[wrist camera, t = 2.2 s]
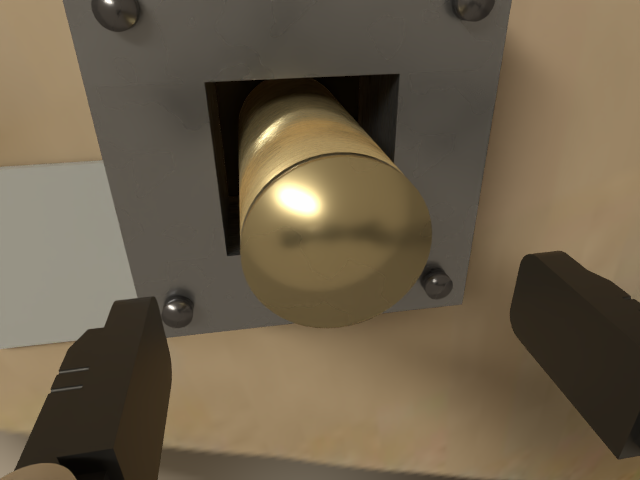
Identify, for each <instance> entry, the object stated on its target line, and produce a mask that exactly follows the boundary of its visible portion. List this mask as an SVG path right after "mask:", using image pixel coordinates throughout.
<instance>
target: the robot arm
mask: <svg viewBox="0 0 640 480" xmlns="http://www.w3.org/2000/svg"><path fill="white" fill-rule="evenodd" d="M510 321H511V325H512V328H513V331H514V333H515V335H516V336H517V338H518V339H519V340H520V341H521V343H522V344H523V345H524V346H525V347H526V349H527V350H528V351H529V352H530V353H531V355H532V356H533V357H534V358H535V360H536V361H537V362H538V363H539V364H540V366H541V367H542V368H543V369H544V370H545V372H546V373H547V374H548V375H549V376H550V378H551V379H552V380H553V381H554V383H555V384H556V385H557V386H558V387H559V389H560V390H561V391H562V392H563V393H564V395H565V396H566V397H567V398H568V400H569V401H570V402H571V403H572V404H573V406H574V407H575V408H576V409H577V410H578V412H579V413H580V414H581V415H582V416H583V418H584V419H585V420H586V421H587V423H588V424H589V425H590V426H591V427H592V429H593V430H594V431H595V432H596V433H597V435H598V436H599V437H600V438H601V439H602V441H603V442H604V443H605V444H606V446H607V447H608V448H609V449H610V450H611V452H612V453H613V454H614V455H615V456H616V458H617V459H618V460H619V459H624V458H629V457H635V456H640V303H639V302H638V301H636V300H635V299H631V296H630V295H629V294H627V293H626V292H625V291H623V290H622V289H621V288H619V287H618V286H617V285H615V284H614V283H613V282H612V281H610V280H607V279H605V278H603V277H601V276H599V275H597V274H595V273H592V272H590V271H588V270H587V269H585V268H584V267H583V266H582V265H580V264H579V263H578V262H577V261H575V260H574V259H573V258H571V257H570V256H569V255H568V254H566V253H565V252H562V251H553V252H544V253H535V254H528V255H526V256H524V257H523V259H522V261H521V263H520V267H519V272H518V276H517V281H516V285H515V290H514V295H513V299H512V304H511V308H510ZM171 381H172V368H171V358H170V352H169V348H168V344H167V340H166V335H165V331H164V327H163V323H162V318H161V314H160V310H159V306H158V302H157V300H156V298H155V297H154V296H151V297H142V298H133V299H125V300H116V301H114V303H113V305H112V307H111V310H110V313H109V315H108V318H107V321H106V323H105V326H104V327H103V328H94V329H88V330H87V331H86V332H85V333H84V334H83V335H82V336H81V337H80V338H79V339H78V340H77V341H76V342H75V343H74V344H73V345H72V346H71V347H70V348H69V349H68V351H67V353H66V355H65V358H64V360H63V362H62V364H61V367H60V369H59V375H57V376H56V378H55V380H54V382H53V385H52V387H51V393H50V394H48V396H47V398H46V400H45V403H44V405H43V407H42V409H41V412H40V414H39V416H38V418H37V421H36V423H35V425H34V427H33V430H32V432H31V434H30V436H29V439H28V441H27V443H26V445H25V448H24V450H23V452H22V454H21V457H20V459H19V461H18V463H17V466H16V468H15V470H14V471H13V472H11V473H9V474H7V475H5V476H4V477H2V478H0V480H157V479H158V472H159V466H160V459H161V452H162V445H163V438H164V431H165V424H166V417H167V410H168V404H169V397H170V390H171Z"/></svg>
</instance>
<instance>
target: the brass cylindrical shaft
mask: <svg viewBox="0 0 640 480" xmlns="http://www.w3.org/2000/svg"><path fill="white" fill-rule="evenodd" d="M238 144H239V201H240V254H241V264H242V269H243V273H244V276H245V279H246V281H247V283H248V285H249V287H250V289H251V291H252V292H253V293H254V295H255V296H256V297H257V299H258V300H259V301H260V302H261V303H262V304H263V305H264V306H265V307H266V308H268V309H269V310H270V311H272V312H273V313H274V314H276V315H278V316H280V317H282V318H283V319H286V320H288V321H290V322H293V323H296V324H300V325H303V326H309V327H315V328H336V327H343V326H349V325H353V324H357V323H360V322H363V321H366V320H368V319H371V318H373V317H375V316H377V315H379V314H381V313H383V312H384V311H386V310H387V309H389V308H390V307H392V306H393V305H394V304H396V303H397V302H398V301H399V300H401V299H402V298H403V297H404V296H405V295H406V294H407V293H408V292H409V290H410V289H411V288H412V287H413V285H414V284H415V283H416V281H417V280H418V278H419V277H420V275H421V273H422V271H423V269H424V267H425V265H426V263H427V260H428V257H429V253H430V248H431V243H432V225H431V219H430V215H429V211H428V208H427V206H426V204H425V201H424V199H423V198H422V196H421V194H420V193H419V191H418V190H417V189H416V188H415V186H414V185H413V184H412V183H411V182H410V181H409V180H408V179H407V177H406V176H405V175H404V174H403V173H402V172H401V171H400V170H399V169H398V167H397V166H396V165H395V164H394V163H393V162H392V161H391V160H390V159H389V157H388V156H387V155H386V154H385V153H384V152H383V151H382V150H381V149H380V147H379V146H378V145H377V144H376V143H375V142H374V141H373V140H372V138H371V137H370V136H369V135H368V134H367V133H366V132H365V131H364V130H363V128H362V127H361V126H360V125H359V124H358V123H357V122H356V121H355V120H354V118H353V117H352V116H351V115H350V114H349V113H348V112H347V111H346V110H345V108H344V107H343V106H342V105H341V104H340V103H339V102H338V101H337V100H336V98H335V97H334V96H333V95H332V94H331V93H330V92H329V91H328V89H327V88H325V87H324V86H323V85H322V84H321V83H319V82H318V81H316V80H314V79H312V78H310V77H309V78H286V79H267V80H265V81H263V82H261V83H260V84H259V85H258V86H256V87H255V88H254V89H253V90H252V91H251V92H250V94H249V95H248V96H247V98H246V99H245V101H244V103H243V105H242V108H241V110H240V115H239V121H238Z"/></svg>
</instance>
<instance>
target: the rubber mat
mask: <svg viewBox="0 0 640 480" xmlns="http://www.w3.org/2000/svg"><path fill="white" fill-rule="evenodd" d="M133 298H137V294H136V290H135V286H134V282H133V278H132V274H131V270H130V266H129V262H128V258H127V254H126V250H125V246H124V242H123V238H122V234H121V230H120V226H119V222H118V218H117V214H116V211H115V207H114V203H113V199H112V195H111V191H110V187H109V183H108V179H107V175H106V171H105V167H104V163H103V160H102V161H86V162H70V163H54V164H39V165H23V166H7V167H0V349H4V348H13V347H22V346H31V345H40V344H49V343H58V342H67V341H76V340H78V339H79V338H80V337H81V336H82V335H83V334H84V333H85V332H86V331H87V330H88V329H94V328H103V327H104V326H105V323H106V321H107V318H108V315H109V313H110V310H111V307H112V305H113V303H114V301H116V300H125V299H133Z"/></svg>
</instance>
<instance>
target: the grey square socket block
mask: <svg viewBox="0 0 640 480" xmlns="http://www.w3.org/2000/svg"><path fill="white" fill-rule="evenodd" d="M511 1H512V0H63V3H64V7H65V11H66V15H67V19H68V23H69V27H70V31H71V35H72V39H73V43H74V47H75V51H76V55H77V59H78V63H79V67H80V71H81V75H82V79H83V83H84V87H85V91H86V95H87V99H88V103H89V107H90V111H91V115H92V119H93V123H94V127H95V131H96V135H97V139H98V143H99V147H100V151H101V155H102V159H103V163H104V167H105V171H106V175H107V179H108V183H109V187H110V191H111V195H112V199H113V203H114V207H115V211H116V214H117V218H118V222H119V226H120V230H121V234H122V238H123V242H124V246H125V250H126V254H127V258H128V262H129V266H130V270H131V274H132V278H133V282H134V286H135V290H136V294H137V298H142V297H151V296H154V297H155V298H156V300H157V302H158V306H159V310H160V314H161V318H162V323H163V327H164V331H165V335H166V338H168V337H177V336H186V335H195V334H204V333H213V332H221V331H230V330H239V329H248V328H257V327H266V326H275V325H283V324H292V323H293V322H290V321H288V320H286V319H283V318H282V317H280V316H278V315H276V314H274V313H273V312H272V311H270V310H269V309H268V308H266V307H265V306H264V305H263V304H262V303H261V302H260V301H259V300H258V299H257V297H256V296H255V295H254V293H253V292H252V291H251V289H250V287H249V285H248V283H247V281H246V279H245V276H244V273H243V269H242V264H241V254H240V201H239V196H231V197H229V193H228V184H227V176H226V168H225V159H224V151H223V142H222V134H221V126H220V117H219V109H218V101H217V92H216V84H215V82H217V81H240V80H263V79H286V78H309V77H332V76H355V75H359V94H358V124H359V125H360V126H361V127H362V128H363V130H364V131H365V132H366V133H367V134H368V135H369V136H370V137H371V138H372V140H373V141H374V142H375V143H376V144H377V145H378V146H379V147H380V149H381V150H382V151H383V152H384V153H385V154H386V155H387V156H388V157H389V159H390V160H391V161H392V162H393V163H394V164H395V165H396V166H397V167H398V169H399V170H400V171H401V172H402V173H403V174H404V175H405V176H406V177H407V179H408V180H409V181H410V182H411V183H412V184H413V185H414V186H415V188H416V189H417V190H418V191H419V193H420V194H421V196H422V198H423V199H424V201H425V204H426V206H427V208H428V211H429V215H430V219H431V225H432V243H431V248H430V253H429V257H428V260H427V263H426V265H425V267H424V269H423V271H422V273H421V275H420V277H419V278H418V280H417V281H416V283H415V284H414V285H413V287H412V288H411V289H410V290H409V292H408V293H407V294H406V295H405V296H404V297H403V298H402V299H401V300H399V301H398V302H397V303H396V304H394V305H393V306H392V307H390V308H389V309H387V310H386V311H384V312H383V313H389V312H398V311H407V310H416V309H425V308H434V307H442V306H451V305H460V304H462V302H463V295H464V289H465V283H466V277H467V271H468V265H469V259H470V253H471V246H472V240H473V234H474V228H475V222H476V216H477V210H478V204H479V197H480V191H481V185H482V179H483V173H484V167H485V161H486V155H487V148H488V142H489V136H490V130H491V124H492V118H493V112H494V106H495V99H496V93H497V87H498V81H499V75H500V69H501V63H502V57H503V50H504V44H505V38H506V32H507V26H508V20H509V14H510V8H511Z"/></svg>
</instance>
